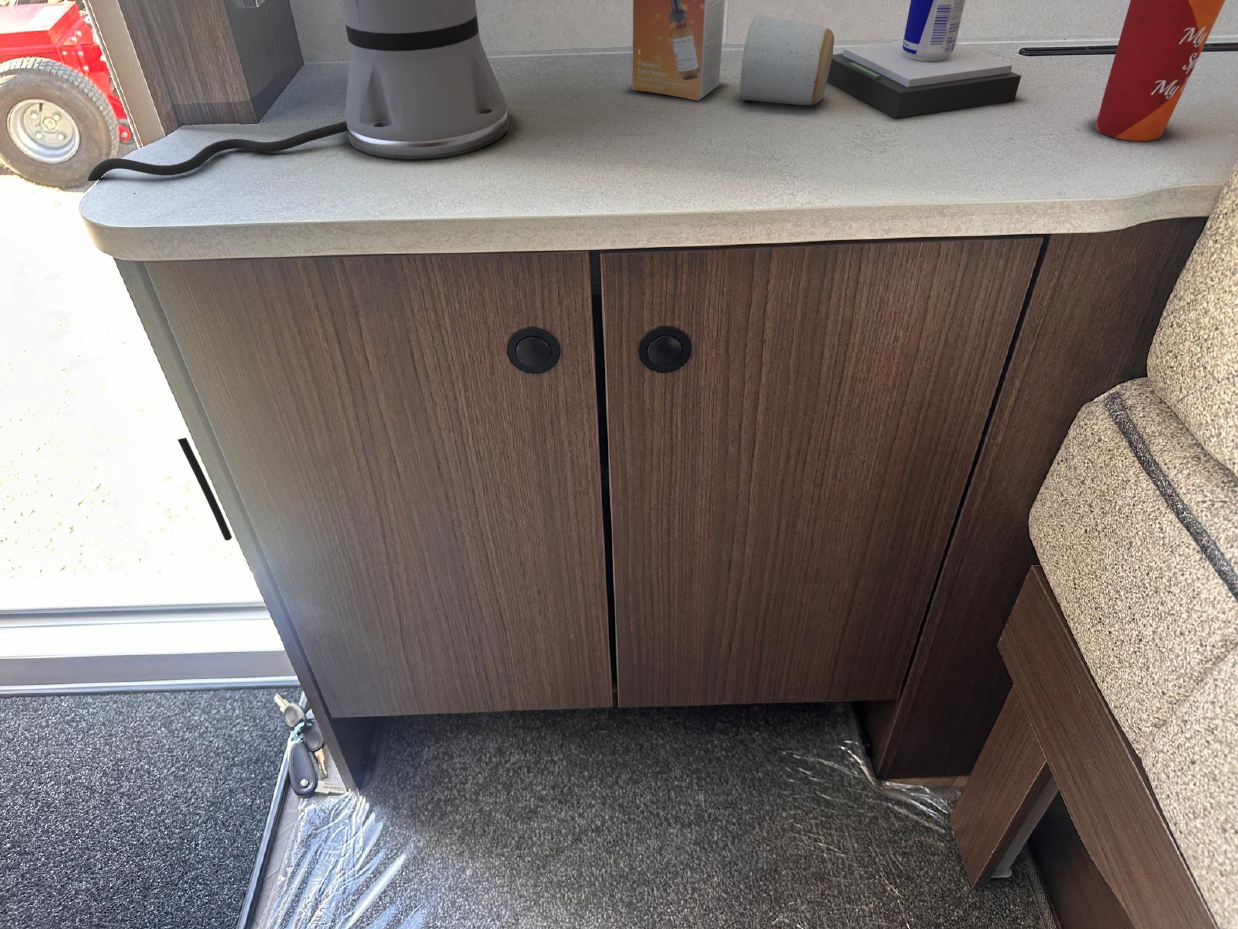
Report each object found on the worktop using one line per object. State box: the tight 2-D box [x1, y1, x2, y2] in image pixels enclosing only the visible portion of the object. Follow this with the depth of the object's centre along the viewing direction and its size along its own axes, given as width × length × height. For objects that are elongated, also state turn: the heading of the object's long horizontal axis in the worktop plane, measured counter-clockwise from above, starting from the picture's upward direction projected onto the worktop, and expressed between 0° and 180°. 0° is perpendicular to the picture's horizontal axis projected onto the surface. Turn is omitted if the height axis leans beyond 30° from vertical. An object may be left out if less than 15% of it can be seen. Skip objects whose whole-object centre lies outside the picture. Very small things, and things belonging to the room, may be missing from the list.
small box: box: [631, 0, 726, 101], centre depth 86 cm, size 8×6×10 cm
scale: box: [827, 40, 1022, 119], centre depth 87 cm, size 14×14×3 cm
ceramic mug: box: [739, 15, 835, 106], centre depth 84 cm, size 11×8×8 cm
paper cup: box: [1095, 0, 1226, 142], centre depth 73 cm, size 8×8×14 cm
